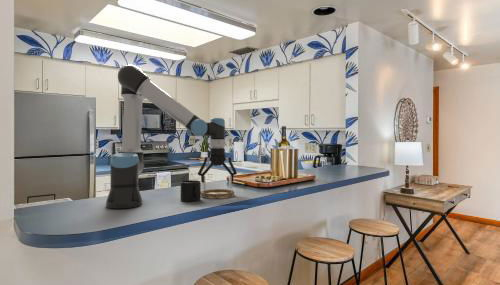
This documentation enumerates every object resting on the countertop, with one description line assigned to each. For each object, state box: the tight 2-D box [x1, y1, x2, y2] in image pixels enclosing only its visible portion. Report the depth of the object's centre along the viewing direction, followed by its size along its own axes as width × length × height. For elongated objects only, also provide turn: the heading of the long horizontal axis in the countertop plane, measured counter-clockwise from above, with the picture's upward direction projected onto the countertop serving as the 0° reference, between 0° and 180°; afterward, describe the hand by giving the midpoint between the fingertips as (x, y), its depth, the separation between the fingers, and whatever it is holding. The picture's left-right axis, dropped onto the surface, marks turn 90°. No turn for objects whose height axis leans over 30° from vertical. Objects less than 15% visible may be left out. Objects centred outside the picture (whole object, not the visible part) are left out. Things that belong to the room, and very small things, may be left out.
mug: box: [180, 179, 202, 203], centre depth 147 cm, size 9×12×9 cm
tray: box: [201, 188, 235, 200], centre depth 161 cm, size 17×17×2 cm
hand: (217, 188), depth 161 cm, fingers open, 13 cm apart
